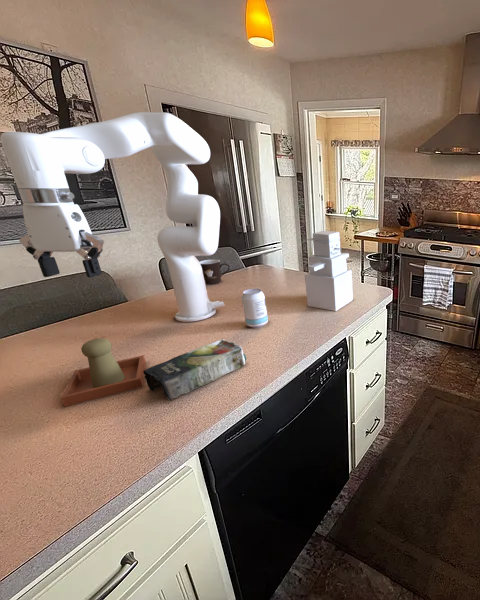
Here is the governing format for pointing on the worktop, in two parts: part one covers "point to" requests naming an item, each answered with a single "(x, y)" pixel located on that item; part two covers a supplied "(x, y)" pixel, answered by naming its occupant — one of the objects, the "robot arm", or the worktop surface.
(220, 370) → the juice carton
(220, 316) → the worktop surface
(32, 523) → the worktop surface
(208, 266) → the coffee mug
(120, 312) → the worktop surface
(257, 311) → the beverage can
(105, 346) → the cork
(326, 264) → the blocky snowman figure
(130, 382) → the tray
